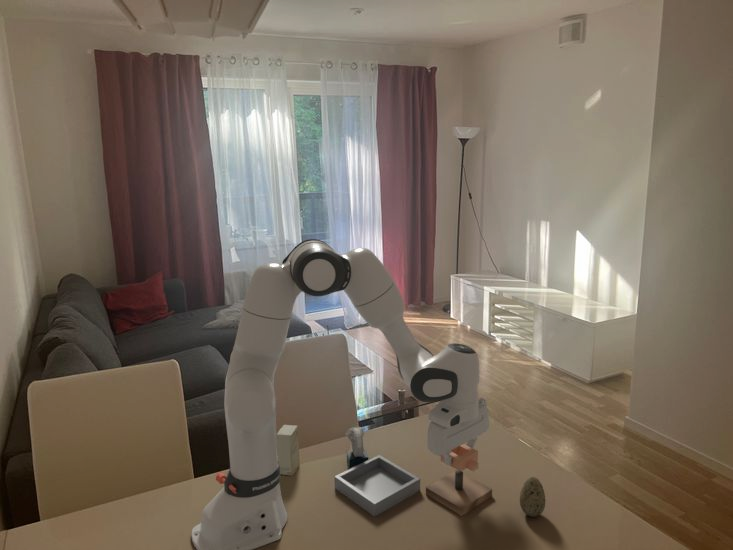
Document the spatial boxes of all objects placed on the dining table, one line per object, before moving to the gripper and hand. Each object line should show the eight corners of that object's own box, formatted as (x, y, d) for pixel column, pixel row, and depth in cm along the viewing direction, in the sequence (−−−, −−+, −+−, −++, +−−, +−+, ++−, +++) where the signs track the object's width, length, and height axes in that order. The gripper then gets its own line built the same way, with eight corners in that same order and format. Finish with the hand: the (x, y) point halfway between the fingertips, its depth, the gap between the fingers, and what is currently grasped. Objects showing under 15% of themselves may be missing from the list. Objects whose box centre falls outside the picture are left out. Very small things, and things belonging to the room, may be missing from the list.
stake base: (461, 516, 132) (462, 492, 130) (425, 494, 140) (425, 471, 139) (492, 496, 139) (492, 473, 138) (455, 476, 148) (456, 454, 147)
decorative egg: (513, 511, 133) (515, 474, 131) (533, 504, 135) (535, 468, 133) (530, 525, 128) (532, 487, 126) (549, 518, 130) (552, 481, 128)
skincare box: (293, 476, 150) (291, 435, 147) (277, 474, 150) (275, 434, 148) (300, 464, 156) (298, 425, 153) (285, 462, 156) (283, 423, 154)
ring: (467, 474, 132) (467, 463, 131) (440, 460, 138) (440, 450, 138) (483, 465, 136) (484, 454, 135) (457, 451, 142) (457, 441, 142)
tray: (374, 516, 132) (374, 504, 131) (334, 488, 144) (334, 476, 143) (420, 490, 142) (420, 478, 141) (379, 466, 154) (379, 454, 153)
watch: (364, 455, 159) (363, 421, 157) (369, 470, 152) (369, 434, 149) (345, 458, 158) (344, 423, 156) (350, 473, 151) (349, 436, 148)
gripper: (476, 391, 144) (474, 439, 147) (423, 415, 131) (422, 467, 134) (496, 399, 139) (494, 448, 142) (443, 424, 126) (442, 478, 129)
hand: (459, 457), depth 138 cm, fingers closed on ring, 7 cm apart
